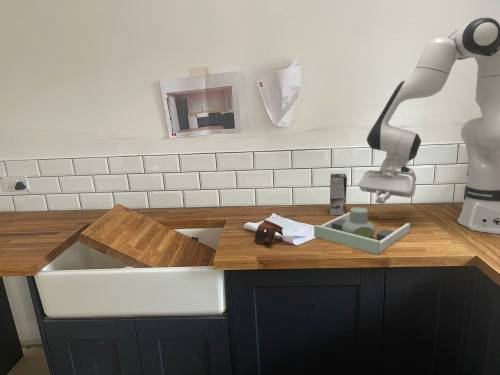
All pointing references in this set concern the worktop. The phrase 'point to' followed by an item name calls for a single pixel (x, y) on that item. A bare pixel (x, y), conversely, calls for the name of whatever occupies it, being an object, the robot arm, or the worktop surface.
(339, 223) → the blocks
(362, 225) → the air freshener
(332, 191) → the coffee box
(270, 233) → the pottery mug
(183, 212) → the worktop surface
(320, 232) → the frame
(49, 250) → the worktop surface
